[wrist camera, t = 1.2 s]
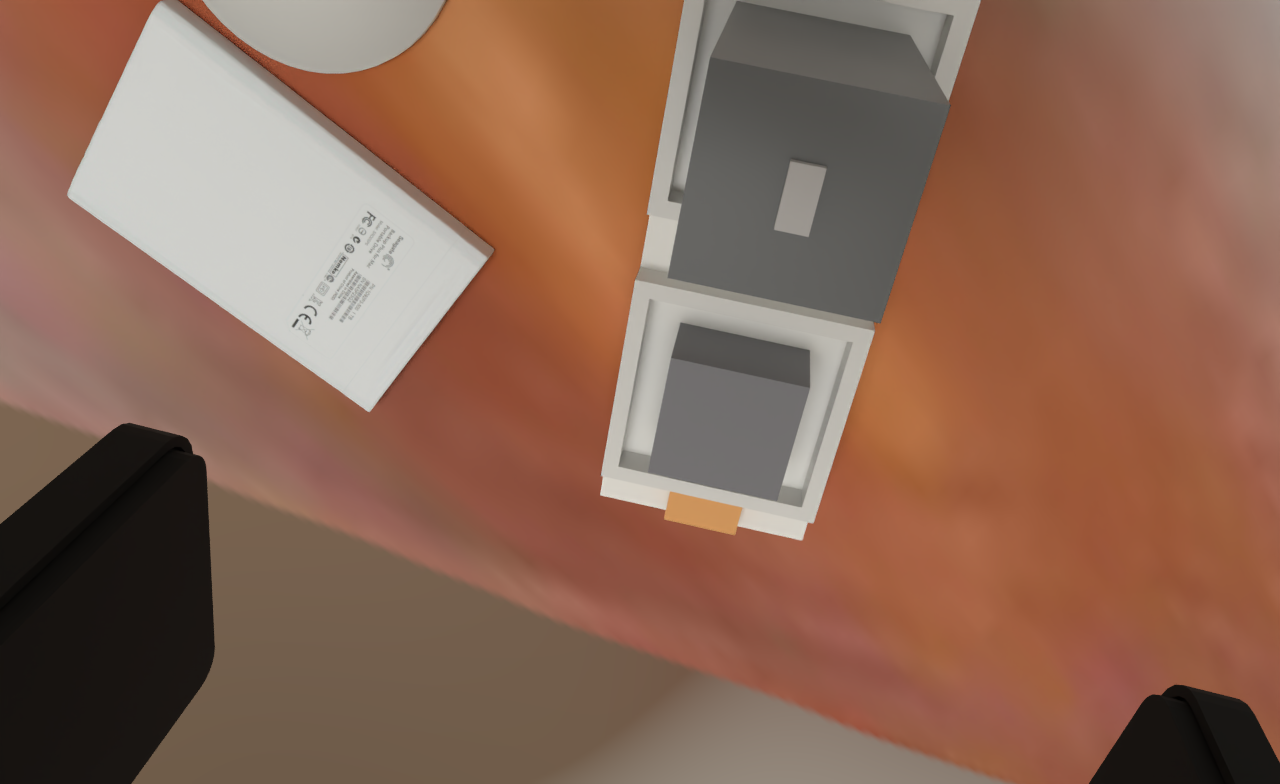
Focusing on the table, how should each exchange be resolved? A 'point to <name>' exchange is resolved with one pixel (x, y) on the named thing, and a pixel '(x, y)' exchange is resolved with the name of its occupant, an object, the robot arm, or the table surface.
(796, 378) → the power strip
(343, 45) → the coaster
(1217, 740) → the robot arm
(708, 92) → the charger
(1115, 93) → the table surface
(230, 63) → the external hard drive
